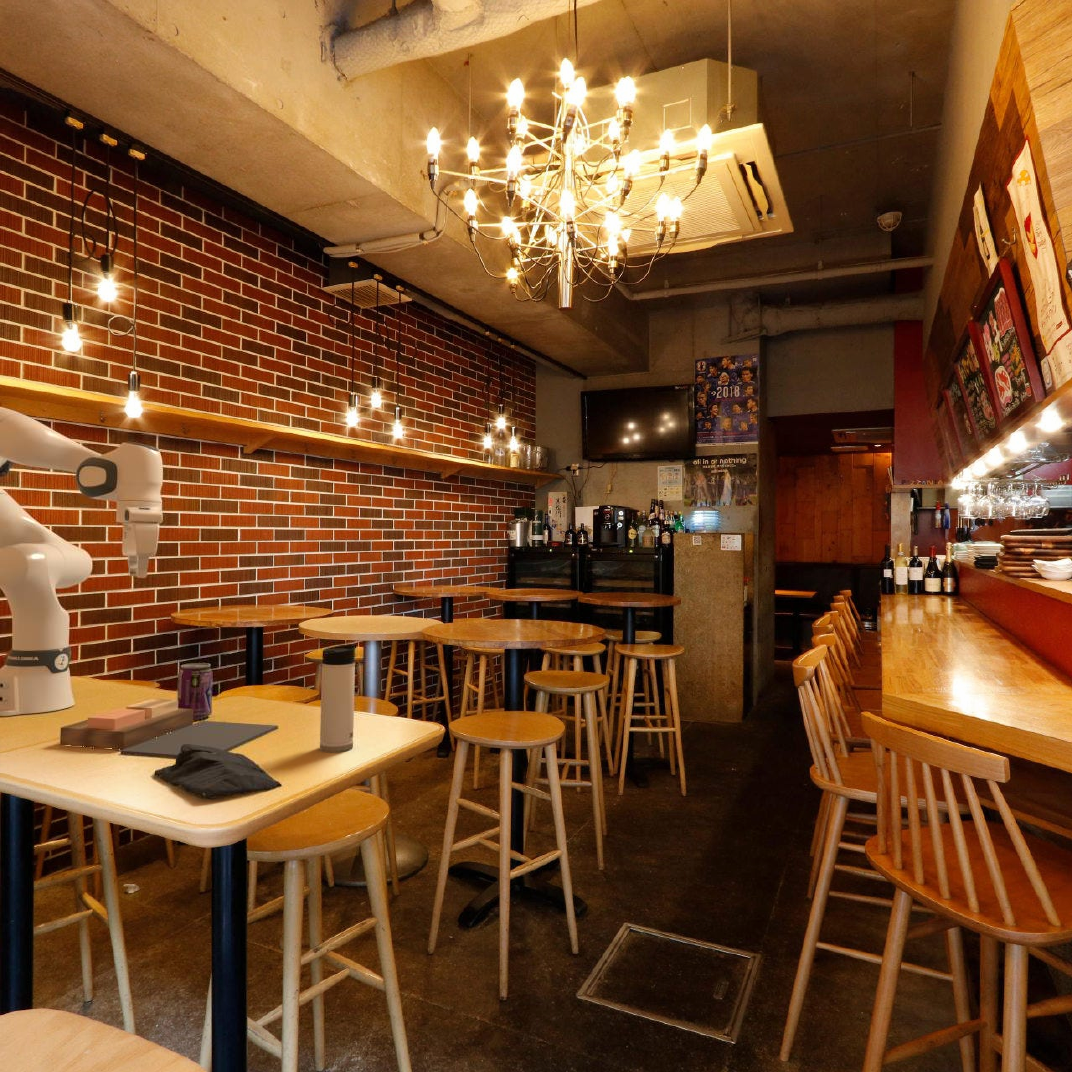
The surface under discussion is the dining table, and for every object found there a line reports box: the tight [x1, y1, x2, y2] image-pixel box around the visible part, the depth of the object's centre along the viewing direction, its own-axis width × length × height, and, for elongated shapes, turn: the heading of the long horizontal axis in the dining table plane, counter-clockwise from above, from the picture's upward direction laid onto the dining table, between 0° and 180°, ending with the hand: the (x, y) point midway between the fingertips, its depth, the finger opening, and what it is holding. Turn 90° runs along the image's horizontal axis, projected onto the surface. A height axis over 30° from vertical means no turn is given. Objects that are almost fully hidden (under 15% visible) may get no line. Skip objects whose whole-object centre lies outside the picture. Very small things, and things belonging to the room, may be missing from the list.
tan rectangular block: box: [125, 698, 178, 718], centre depth 149 cm, size 6×8×2 cm
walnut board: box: [59, 708, 194, 751], centre depth 145 cm, size 14×20×4 cm
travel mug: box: [319, 643, 357, 753], centre depth 138 cm, size 6×7×20 cm
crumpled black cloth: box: [154, 744, 282, 799], centre depth 118 cm, size 15×22×5 cm
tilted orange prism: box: [87, 708, 145, 730], centre depth 139 cm, size 6×8×2 cm
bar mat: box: [120, 720, 279, 759], centre depth 142 cm, size 18×24×1 cm
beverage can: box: [176, 662, 214, 721], centre depth 160 cm, size 7×7×12 cm
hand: (137, 577), depth 156 cm, fingers open, 8 cm apart
